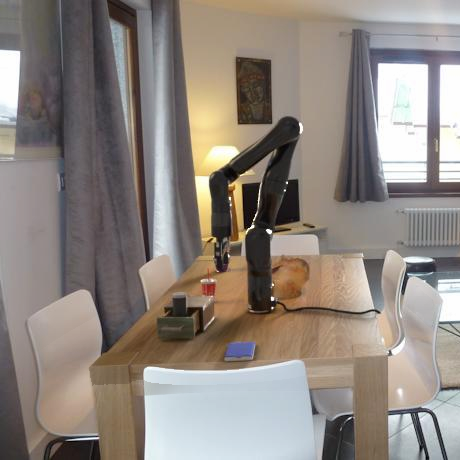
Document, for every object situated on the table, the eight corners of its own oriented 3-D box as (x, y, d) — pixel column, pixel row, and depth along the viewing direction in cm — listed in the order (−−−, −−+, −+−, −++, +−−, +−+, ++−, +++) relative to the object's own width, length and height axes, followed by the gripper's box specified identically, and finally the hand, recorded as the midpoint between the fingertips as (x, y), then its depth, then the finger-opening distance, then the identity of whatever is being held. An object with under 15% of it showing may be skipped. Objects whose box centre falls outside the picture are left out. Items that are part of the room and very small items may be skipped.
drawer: (190, 343, 200) (189, 322, 199) (152, 343, 199) (151, 322, 198) (205, 325, 218) (204, 306, 217) (171, 325, 217) (170, 306, 216)
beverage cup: (219, 300, 252) (218, 266, 250) (213, 304, 246) (212, 270, 244) (205, 299, 253) (204, 265, 250) (198, 304, 247) (197, 269, 244)
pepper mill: (189, 327, 212) (188, 291, 210) (185, 331, 208) (184, 295, 205) (176, 327, 212) (174, 291, 209) (171, 331, 207) (170, 295, 205)
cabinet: (203, 332, 214) (202, 307, 213) (165, 332, 213) (164, 307, 212) (214, 318, 229) (213, 295, 227) (178, 318, 228) (177, 295, 226)
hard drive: (228, 342, 200) (224, 356, 188) (255, 341, 202) (252, 355, 190) (228, 347, 200) (224, 361, 188) (255, 346, 202) (252, 360, 190)
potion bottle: (234, 268, 307) (233, 244, 305) (227, 272, 298) (226, 248, 296) (217, 268, 308) (216, 244, 306) (209, 272, 299) (208, 247, 297)
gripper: (227, 227, 226) (228, 270, 229) (236, 221, 240) (237, 262, 243) (206, 226, 226) (207, 270, 228) (216, 220, 240) (217, 262, 242)
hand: (222, 266), depth 235 cm, fingers open, 8 cm apart
